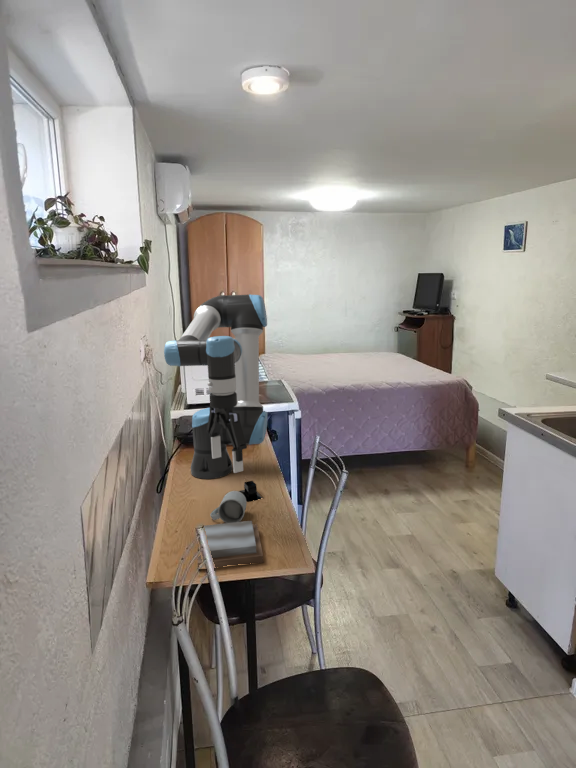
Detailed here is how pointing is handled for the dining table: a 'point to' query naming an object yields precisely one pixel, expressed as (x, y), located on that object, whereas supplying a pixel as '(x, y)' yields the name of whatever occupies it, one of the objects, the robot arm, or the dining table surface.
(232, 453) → the robot arm
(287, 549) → the dining table surface
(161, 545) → the dining table surface
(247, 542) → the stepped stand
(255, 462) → the dining table surface
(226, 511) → the ceramic mug
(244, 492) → the black angular block
